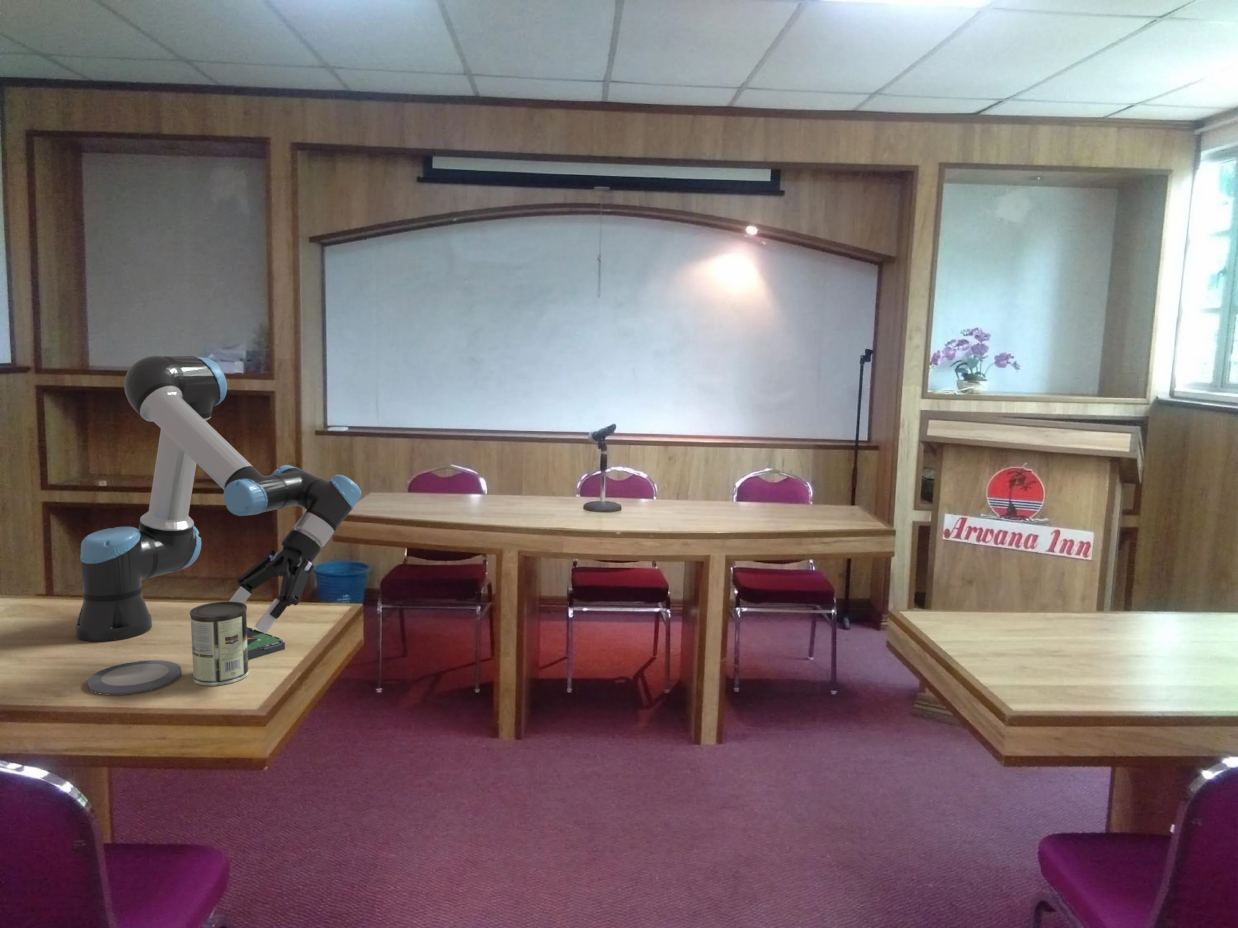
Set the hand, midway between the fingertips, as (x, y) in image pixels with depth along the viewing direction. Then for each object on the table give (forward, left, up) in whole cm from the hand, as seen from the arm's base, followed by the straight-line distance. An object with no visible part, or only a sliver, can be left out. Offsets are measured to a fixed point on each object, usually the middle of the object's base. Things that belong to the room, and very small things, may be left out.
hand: (242, 623), depth 172 cm
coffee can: (-3, -3, -11) cm, 11 cm away
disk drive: (-8, +13, -11) cm, 19 cm away
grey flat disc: (-18, -8, -10) cm, 22 cm away
